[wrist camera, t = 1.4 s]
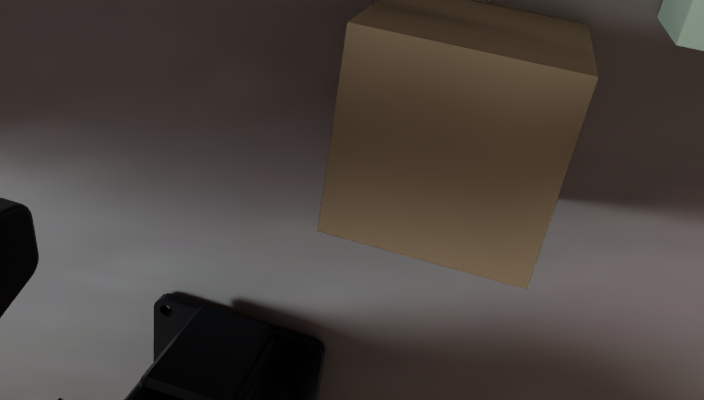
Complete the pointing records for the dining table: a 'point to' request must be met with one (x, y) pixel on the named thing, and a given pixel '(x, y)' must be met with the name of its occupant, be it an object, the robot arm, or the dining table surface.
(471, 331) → the dining table surface
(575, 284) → the dining table surface
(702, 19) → the base slab
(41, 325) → the dining table surface
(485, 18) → the walnut cube
